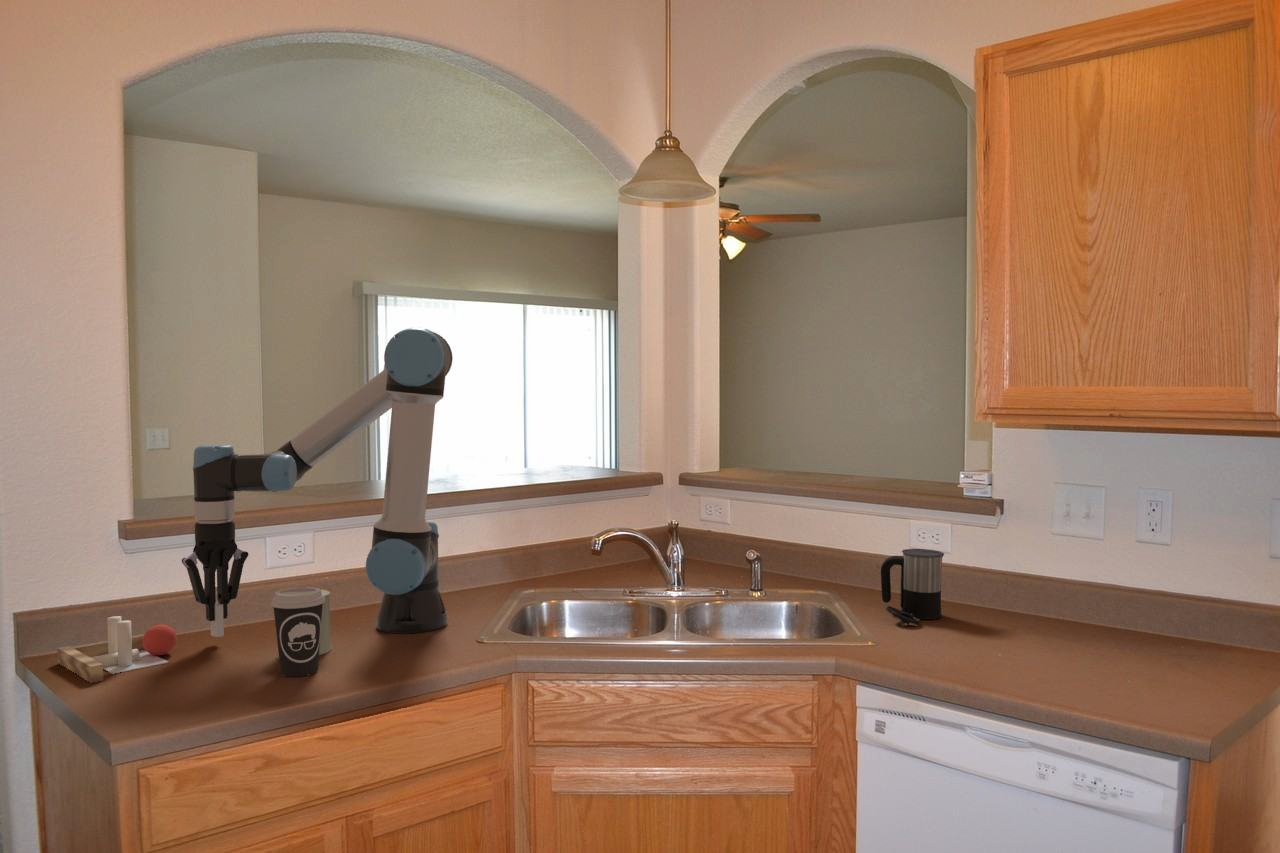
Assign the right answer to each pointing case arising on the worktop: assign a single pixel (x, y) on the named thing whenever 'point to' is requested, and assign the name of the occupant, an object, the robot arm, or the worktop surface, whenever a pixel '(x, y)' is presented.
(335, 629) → the worktop surface
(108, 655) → the pin front
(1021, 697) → the worktop surface
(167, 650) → the ball
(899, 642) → the worktop surface
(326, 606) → the can
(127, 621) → the pin
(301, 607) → the coffee cup
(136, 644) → the wooden angle block
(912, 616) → the milk frother
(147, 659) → the pin deck mark
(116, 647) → the pin
